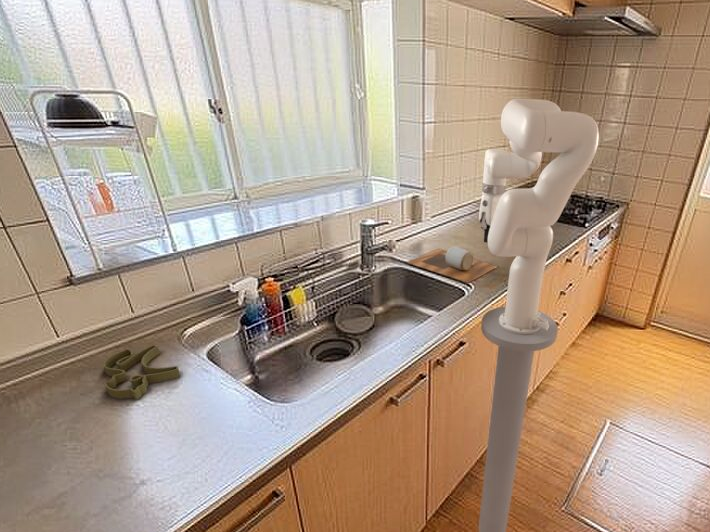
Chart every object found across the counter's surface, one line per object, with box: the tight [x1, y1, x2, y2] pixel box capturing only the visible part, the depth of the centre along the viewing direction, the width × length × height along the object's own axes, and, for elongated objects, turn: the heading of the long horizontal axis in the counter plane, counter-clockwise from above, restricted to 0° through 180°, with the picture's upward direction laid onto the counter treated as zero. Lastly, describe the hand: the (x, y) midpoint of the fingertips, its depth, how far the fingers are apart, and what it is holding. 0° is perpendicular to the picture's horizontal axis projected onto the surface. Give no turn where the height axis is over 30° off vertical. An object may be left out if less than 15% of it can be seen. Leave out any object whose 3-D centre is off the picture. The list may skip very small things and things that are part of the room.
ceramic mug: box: [446, 245, 474, 271], centre depth 154 cm, size 11×8×8 cm
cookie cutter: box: [102, 344, 181, 401], centre depth 90 cm, size 18×12×2 cm, turn 50°
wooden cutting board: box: [406, 248, 498, 284], centre depth 158 cm, size 28×20×1 cm
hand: (488, 242), depth 145 cm, fingers closed
